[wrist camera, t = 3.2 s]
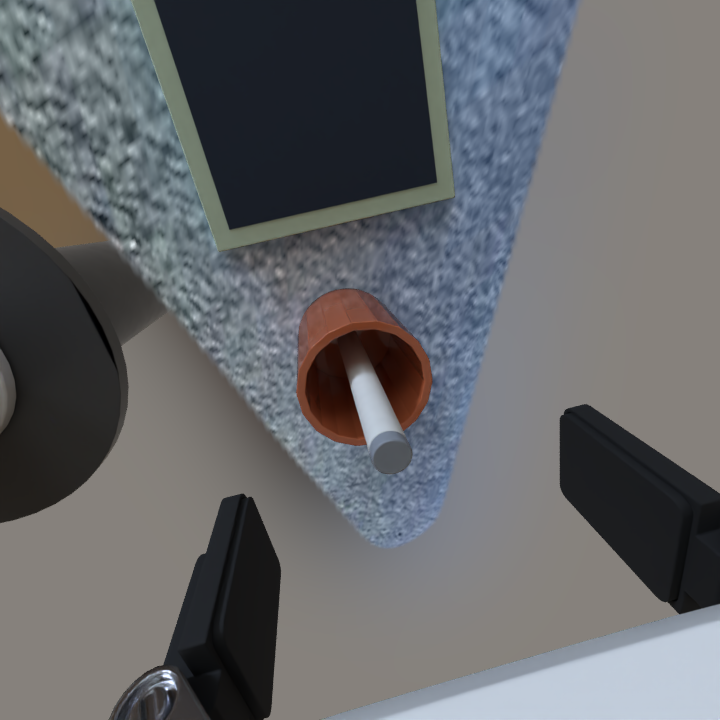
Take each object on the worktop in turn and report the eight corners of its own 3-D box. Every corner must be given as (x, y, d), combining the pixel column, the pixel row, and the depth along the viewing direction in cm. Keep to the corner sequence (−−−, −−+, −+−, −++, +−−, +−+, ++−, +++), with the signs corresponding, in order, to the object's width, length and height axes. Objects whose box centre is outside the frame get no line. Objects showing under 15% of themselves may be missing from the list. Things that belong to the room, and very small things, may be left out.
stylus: (339, 350, 25) (376, 479, 13) (334, 331, 24) (367, 446, 12) (360, 345, 25) (415, 468, 13) (355, 325, 24) (409, 435, 12)
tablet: (221, 250, 22) (217, 252, 21) (65, -204, 15) (49, -233, 14) (449, 198, 23) (456, 197, 22) (400, -256, 16) (407, -288, 15)
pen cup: (312, 390, 26) (317, 460, 19) (286, 301, 23) (279, 340, 16) (400, 367, 26) (439, 427, 19) (384, 277, 24) (421, 305, 16)
